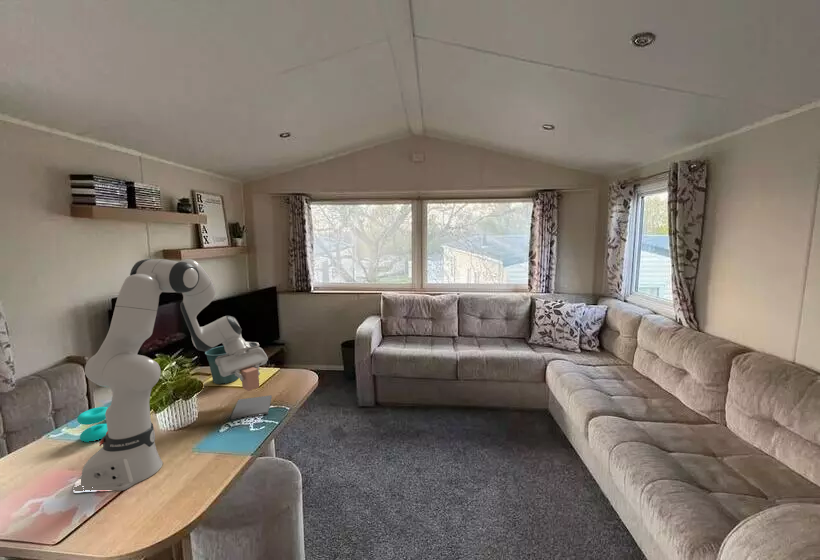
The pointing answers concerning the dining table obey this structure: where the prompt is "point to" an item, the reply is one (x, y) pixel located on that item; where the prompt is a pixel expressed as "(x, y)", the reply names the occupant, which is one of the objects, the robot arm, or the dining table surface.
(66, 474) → the dining table surface
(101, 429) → the donuts
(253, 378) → the terracotta block
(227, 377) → the flower pot
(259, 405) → the slate board
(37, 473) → the dining table surface
